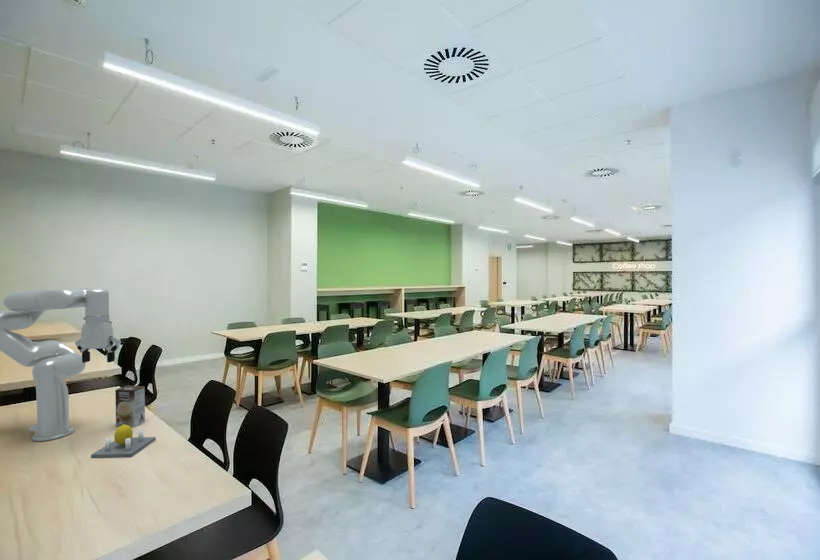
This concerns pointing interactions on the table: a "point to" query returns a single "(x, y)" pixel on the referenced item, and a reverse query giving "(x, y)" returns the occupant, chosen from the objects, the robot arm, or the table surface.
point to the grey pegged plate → (123, 447)
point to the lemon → (123, 434)
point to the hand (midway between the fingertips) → (98, 361)
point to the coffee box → (130, 405)
